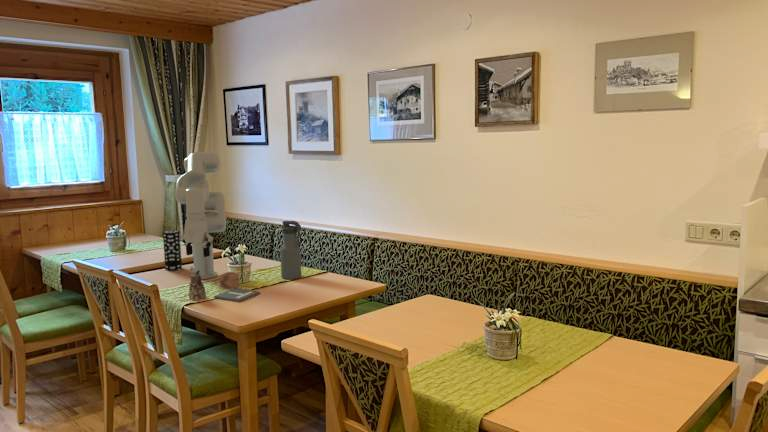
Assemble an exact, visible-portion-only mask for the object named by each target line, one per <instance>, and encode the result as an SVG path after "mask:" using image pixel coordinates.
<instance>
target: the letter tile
mask: <svg viewBox="0 0 768 432" xmlns="http://www.w3.org/2000/svg"><path fill="white" fill-rule="evenodd" d="M260 294H261V291H258V290H253V289H252V290H251V289H246V288H244V289H243V288H237V287H233V288H231V289H230V290H226V291H224V292H221V293H219V294H216V295H214V296H213V298H214V299H217V300H224V301H231V302H237V303H240V302H243V301H246V300H248V299H250V298H253V297H255V296H257V295H260Z"/></svg>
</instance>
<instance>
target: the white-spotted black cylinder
mask: <svg viewBox="0 0 768 432" xmlns="http://www.w3.org/2000/svg"><path fill="white" fill-rule="evenodd" d="M180 234H181V233H180V230H175V229H173V230H171V229H170V230H164V231H162V241H163V255H164V256H163V257H164V268H165V269H164V270H165V271H167V272H174V271H180V270H182V269H183V263H182V262H183V261H182V248H181V246H182V245H181V235H180Z"/></svg>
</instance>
